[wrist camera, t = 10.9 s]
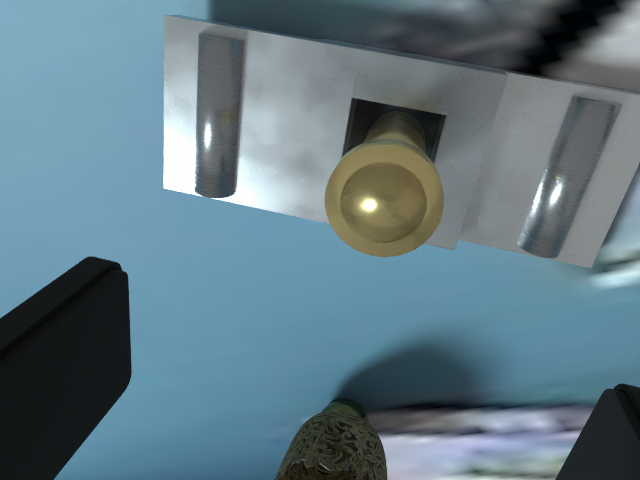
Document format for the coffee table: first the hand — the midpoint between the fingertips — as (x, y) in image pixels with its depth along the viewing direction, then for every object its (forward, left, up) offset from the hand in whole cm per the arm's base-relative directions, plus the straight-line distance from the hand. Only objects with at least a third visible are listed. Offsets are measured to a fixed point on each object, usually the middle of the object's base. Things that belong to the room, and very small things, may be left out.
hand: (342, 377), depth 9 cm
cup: (-1, +21, -20) cm, 29 cm away
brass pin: (0, 0, -20) cm, 20 cm away
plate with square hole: (0, 0, -20) cm, 20 cm away
